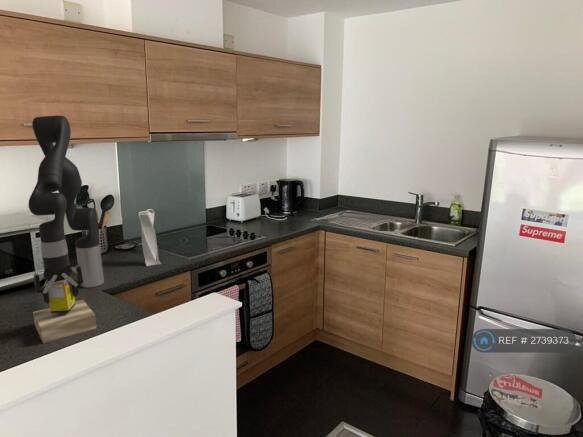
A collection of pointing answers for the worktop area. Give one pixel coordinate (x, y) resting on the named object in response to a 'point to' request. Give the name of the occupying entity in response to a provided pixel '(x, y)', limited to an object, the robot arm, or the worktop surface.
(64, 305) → the supplement box
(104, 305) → the worktop surface
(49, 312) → the oak support block
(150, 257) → the skyscraper
